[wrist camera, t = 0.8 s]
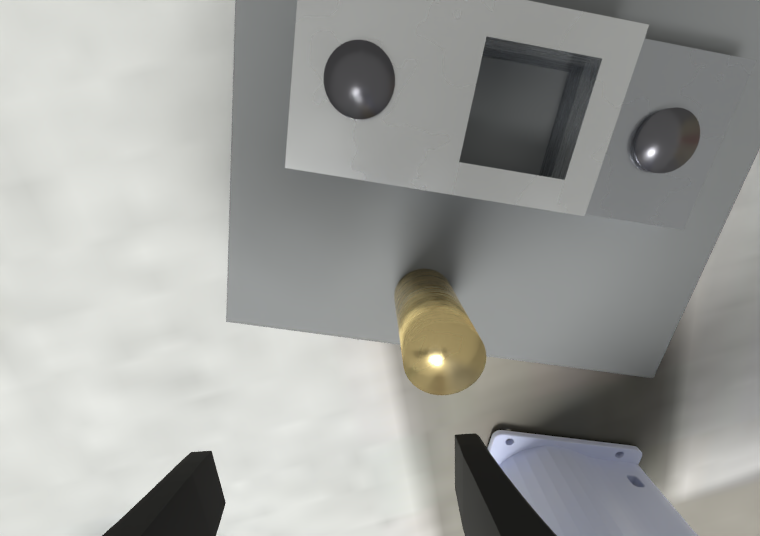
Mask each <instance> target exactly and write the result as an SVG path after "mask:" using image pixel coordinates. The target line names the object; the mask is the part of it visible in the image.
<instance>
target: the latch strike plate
mask: <svg viewBox="0 0 760 536" xmlns="http://www.w3.org/2000/svg"><path fill="white" fill-rule="evenodd" d="M648 27H649V25H648V24H643V23H638V22H633V21H628V20H623V19H618V18H613V17H608V16H603V15H598V14H593V13H588V12H583V11H578V10H573V9H568V8H563V7H558V6H553V5H548V4H543V3H539V2H534V1H529V0H297V11H296V24H295V38H294V51H293V65H292V78H291V92H290V105H289V119H288V132H287V146H286V159H285V168H289V169H295V170H301V171H307V172H314V173H320V174H326V175H332V176H338V177H345V178H351V179H357V180H363V181H369V182H376V183H382V184H388V185H394V186H400V187H406V188H413V189H419V190H425V191H431V192H437V193H444V194H450V195H456V196H462V197H468V198H474V199H481V200H487V201H493V202H499V203H505V204H512V205H518V206H524V207H530V208H536V209H543V210H549V211H555V212H561V213H567V214H573V215H580V216H585V214H587V215H593V216H600V217H606V218H612V219H618V220H624V221H630V222H637V223H643V224H649V225H655V226H661V227H667V228H674V229H680V230H684V228H685V225H686V223H687V221H688V218H689V216H690V214H691V211H692V209H693V207H694V204H695V202H696V200H697V197H698V195H699V193H700V190H701V188H702V186H703V183H704V181H705V179H706V176H707V174H708V172H709V169H710V167H711V165H712V162H713V160H714V158H715V155H716V153H717V151H718V148H719V146H720V144H721V141H722V139H723V137H724V134H725V132H726V130H727V127H728V125H729V123H730V120H731V118H732V116H733V113H734V111H735V109H736V106H737V104H738V102H739V99H740V97H741V95H742V92H743V90H744V88H745V85H746V83H747V81H748V78H749V76H750V74H751V71H752V69H753V67H754V64H755V62H756V60H751V59H746V58H741V57H736V56H731V55H726V54H721V53H716V52H711V51H706V50H701V49H696V48H690V47H685V46H680V45H675V44H670V43H665V42H660V41H655V40H650V39H645V36H646V33H647V30H648ZM482 56H486V57H491V58H496V59H502V60H507V61H512V62H517V63H523V64H528V65H533V66H539V67H544V68H549V69H555V70H560V71H565V72H569V73H568V76H567V80H566V83H565V87H564V90H563V93H562V97H561V100H560V104H559V107H558V111H557V114H556V118H555V121H554V125H553V128H552V132H551V135H550V139H549V142H548V146H547V149H546V153H545V156H544V159H543V163H542V166H541V170H540V173H539V175H533V174H527V173H521V172H515V171H509V170H503V169H497V168H491V167H485V166H479V165H473V164H467V163H461V162H459V160H460V156H461V151H462V147H463V142H464V137H465V133H466V128H467V124H468V119H469V115H470V110H471V105H472V101H473V96H474V92H475V87H476V82H477V78H478V73H479V69H480V64H481V60H482Z"/></svg>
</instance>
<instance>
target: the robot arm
mask: <svg viewBox="0 0 760 536" xmlns="http://www.w3.org/2000/svg"><path fill="white" fill-rule="evenodd" d="M510 438H511V439H510ZM507 439H510V440H507ZM641 458H642V452H641V451H640V450H639V448H637V447H636V446H631V445H623V444H615V443H606V442H598V441H589V440H581V439H573V438H564V437H556V436H548V435H539V434H531V433H522V432H514V431H506V430H498V431H495V432H494V433H493V434H492V437H491V440H490V443H489V446H488V449H487V448H486V446H485V445H484V443H483V442H482V440H481V438H480V437H479V436H478V435H477V434H461V435H455V490H456V495H457V500H458V506H459V511H460V516H461V521H462V526H463V530H464V533H465V536H698V535H697V534H696V533H695V532H694V531H693V529H692V528H691V527H690V526H689V525H688V523H687V522H686V521H685V520H684V519H683V517H682V516H681V515H680V514H679V513H678V511H677V510H676V509H675V508H674V507H673V506H672V504H671V503H670V502H669V501H668V500H667V498H666V497H665V496H664V495H663V494H662V492H661V491H660V490H659V489H658V488H657V487H656V485H655V484H654V483H653V482H652V481H651V479H650V478H649V477H648V476H647V475H646V473H645V472H644V471H643V470H642V469H641V468H640V466H639V465H638V464H639V462H640V460H641ZM224 506H225V499H224V495H223V492H222V488H221V484H220V481H219V477H218V473H217V470H216V466H215V462H214V459H213V455H212V451H203V452H191V453H190V454H189V455H188V456H186V457H185V458H184V459H183V460H182V461H181V462H180V463H179V464H178V465H177V466H176V467H175V468H174V469H173V470H172V471H171V472H170V473H168V474H167V475H166V476H165V477H164V478H163V479H162V480H161V481H160V482H159V483H158V484H157V485H156V486H155V487H154V488H153V489H152V490H151V491H150V492H149V493H148V494H147V495H146V496H145V497H144V498H142V499H141V500H140V501H139V502H138V503H137V504H136V505H135V506H134V507H133V508H132V509H131V510H130V511H129V512H128V513H127V514H126V515H125V516H123V517H122V518H121V519H120V520H119V521H118V522H117V523H116V524H115V525H114V526H113V527H111V528H110V529H109V530H108V531H107V532H106V533H105V534H104V535H102V536H216V533H217V530H218V527H219V524H220V520H221V517H222V513H223V510H224Z"/></svg>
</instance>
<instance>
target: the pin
mask: <svg viewBox="0 0 760 536" xmlns="http://www.w3.org/2000/svg"><path fill="white" fill-rule="evenodd" d="M394 300H395V308H396V315H397V322H398V329H399V337H400V344H401V351H402V359H403V365H404V370H405V373H406V375H407V377H408V379H409V380H410V381H411V382H412V383H413V385H415V386H416V387H417V388H419V389H420V390H422V391H424V392H427V393H430V394H435V395H449V394H454V393H458V392H460V391H462V390H464V389H466V388H468V387H469V386H471V385H472V384H473V383H474V382H475V381H476V380H477V379H478V378H479V377H480V375H481V373H482V372H483V370H484V367H485V363H486V350H485V346H484V344H483V342H482V340H481V338H480V336H479V335H478V333H477V331H476V329H475V328H474V326H473V324H472V322H471V321H470V319H469V317H468V315H467V314H466V312H465V310H464V308H463V306H462V305H461V303H460V301H459V299H458V298H457V296H456V294H455V292H454V291H453V289H452V287H451V285H450V284H449V282H448V280H447V279H446V278H445V277H444V276H443V275H442V274H441V273H439V272H437V271H435V270H431V269H417V270H413V271H411V272H409V273H407V274H406V275H405V276H403V277H402V278H401V280H400V281H399V282H398V284H397V286H396V288H395V293H394Z"/></svg>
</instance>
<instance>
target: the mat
mask: <svg viewBox="0 0 760 536" xmlns="http://www.w3.org/2000/svg"><path fill="white" fill-rule="evenodd" d="M529 1H534V2H539V3H543V4H548V5H553V6H558V7H563V8H568V9H573V10H578V11H583V12H588V13H593V14H598V15H603V16H608V17H613V18H618V19H623V20H628V21H633V22H638V23H643V24H648V25H649V27H648V30H647V33H646V36H645V39H650V40H655V41H660V42H665V43H670V44H675V45H680V46H685V47H690V48H696V49H701V50H706V51H711V52H716V53H721V54H726V55H731V56H736V57H741V58H746V59H751V60H756V62H755V64H754V67H753V69H752V71H751V74H750V76H749V78H748V81H747V83H746V85H745V88H744V90H743V92H742V95H741V97H740V99H739V102H738V104H737V106H736V109H735V111H734V113H733V116H732V118H731V120H730V123H729V125H728V127H727V130H726V132H725V134H724V137H723V139H722V141H721V144H720V146H719V148H718V151H717V153H716V155H715V158H714V160H713V162H712V165H711V167H710V169H709V172H708V174H707V176H706V179H705V181H704V183H703V186H702V188H701V190H700V193H699V195H698V197H697V200H696V202H695V204H694V207H693V209H692V211H691V214H690V216H689V218H688V221H687V223H686V225H685V228H684V230H680V229H674V228H667V227H661V226H655V225H649V224H643V223H637V222H630V221H624V220H618V219H612V218H606V217H600V216H593V215H587V214H585V216H580V215H573V214H567V213H561V212H555V211H549V210H543V209H536V208H530V207H524V206H518V205H512V204H505V203H499V202H493V201H487V200H481V199H474V198H468V197H462V196H456V195H450V194H444V193H437V192H431V191H425V190H419V189H413V188H406V187H400V186H394V185H388V184H382V183H376V182H369V181H363V180H357V179H351V178H345V177H338V176H332V175H326V174H320V173H314V172H307V171H301V170H295V169H289V168H285V159H286V146H287V132H288V119H289V105H290V92H291V78H292V65H293V51H294V38H295V24H296V11H297V0H236V3H235V37H234V72H233V106H232V141H231V176H230V210H229V245H228V279H227V314H226V322H233V323H241V324H248V325H256V326H263V327H271V328H278V329H286V330H293V331H301V332H308V333H316V334H323V335H331V336H338V337H346V338H353V339H361V340H369V341H376V342H384V343H391V344H399V345H401V344H400V337H399V329H398V322H397V315H396V308H395V300H394V293H395V288H396V286H397V284H398V282H399V281H400V280H401V278H402V277H403V276H405V275H406V274H407V273H409V272H411V271H413V270H417V269H431V270H435V271H437V272H439V273H441V274H442V275H443V276H444V277H445V278H446V279H447V280H448V282H449V284H450V285H451V287H452V289H453V291H454V292H455V294H456V296H457V298H458V299H459V301H460V303H461V305H462V306H463V308H464V310H465V312H466V314H467V315H468V317H469V319H470V321H471V322H472V324H473V326H474V328H475V329H476V331H477V333H478V335H479V336H480V338H481V340H482V342H483V344H484V346H485V350H486V356H489V357H497V358H504V359H512V360H519V361H527V362H534V363H542V364H549V365H557V366H564V367H572V368H579V369H587V370H594V371H602V372H609V373H617V374H625V375H632V376H640V377H647V378H654V375H655V373H656V371H657V369H658V367H659V365H660V362H661V360H662V358H663V356H664V354H665V352H666V349H667V347H668V345H669V343H670V341H671V339H672V337H673V334H674V332H675V330H676V328H677V326H678V324H679V321H680V319H681V317H682V315H683V313H684V311H685V308H686V306H687V304H688V302H689V300H690V298H691V295H692V293H693V291H694V289H695V287H696V285H697V282H698V280H699V278H700V276H701V274H702V272H703V269H704V267H705V265H706V263H707V261H708V259H709V256H710V254H711V252H712V250H713V248H714V246H715V244H716V241H717V239H718V237H719V235H720V233H721V231H722V228H723V226H724V224H725V222H726V220H727V218H728V215H729V213H730V211H731V209H732V207H733V205H734V202H735V200H736V198H737V196H738V194H739V192H740V189H741V187H742V185H743V183H744V181H745V179H746V176H747V174H748V172H749V170H750V168H751V166H752V163H753V161H754V159H755V157H756V155H757V153H758V151H759V148H760V0H529ZM568 73H569V72H565V71H560V70H555V69H549V68H544V67H539V66H533V65H528V64H523V63H517V62H512V61H507V60H502V59H496V58H491V57H486V56H482V60H481V64H480V69H479V73H478V78H477V82H476V87H475V92H474V96H473V101H472V105H471V110H470V115H469V119H468V124H467V128H466V133H465V137H464V142H463V147H462V151H461V156H460V160H459V162H461V163H467V164H473V165H479V166H485V167H491V168H497V169H503V170H509V171H515V172H521V173H527V174H533V175H539V173H540V170H541V166H542V163H543V159H544V156H545V153H546V149H547V146H548V142H549V139H550V135H551V132H552V128H553V125H554V121H555V118H556V114H557V111H558V107H559V104H560V100H561V97H562V93H563V90H564V87H565V83H566V80H567V76H568Z"/></svg>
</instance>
